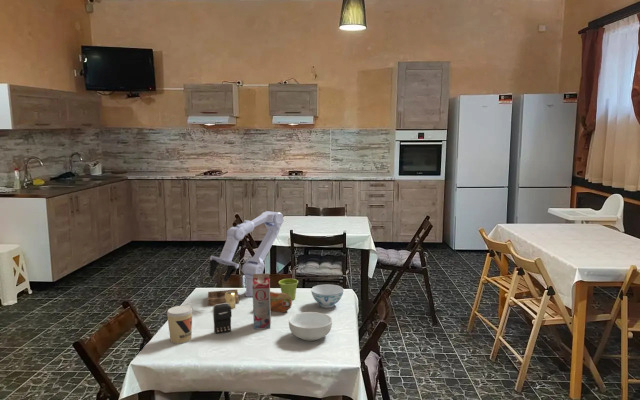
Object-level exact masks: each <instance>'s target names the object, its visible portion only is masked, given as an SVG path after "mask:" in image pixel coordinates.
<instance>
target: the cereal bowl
mask: <svg viewBox="0 0 640 400" xmlns="http://www.w3.org/2000/svg"><path fill="white" fill-rule="evenodd" d="M332 325H333V320H332V317H331V316H330V315H328V314H326V313H322V312H316V311H305V312H304V311H303V312H298V313H296V314H293V315H292V316H290V318H289V319H288V327H289V330H290V332H291V333H292V334H293V336H295V337H297V338H300V339H302V340H303V341H307V342H309V341H311V342H313V341H317V340H319V339H322V338H324V337H325V336H327V335H328V334H329V333H330V332H331V330H332Z"/></svg>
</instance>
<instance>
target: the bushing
mask: <svg viewBox="0 0 640 400" xmlns="http://www.w3.org/2000/svg"><path fill="white" fill-rule="evenodd" d="M225 302H226V303H228V304H229V305H230V306H231V310H234V309H236V304H235V292H233V291H230V292H226V293H225Z"/></svg>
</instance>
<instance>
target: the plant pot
mask: <svg viewBox="0 0 640 400" xmlns="http://www.w3.org/2000/svg"><path fill="white" fill-rule="evenodd" d="M298 283H299V280H298V279H296V278H283V279H281V280H279V281H278V284H279V287H280V291H281V292H280V293H286V294H288V295H289V296H290V298H291V300H292V301H293V300H295V299H296V296H297V295H296V293H297V286H298Z"/></svg>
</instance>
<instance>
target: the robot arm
mask: <svg viewBox="0 0 640 400" xmlns="http://www.w3.org/2000/svg"><path fill="white" fill-rule="evenodd" d="M283 223H284V215H283V213H282V212H280V211H277V212H276V211H269V210H265V211H263V212H262V213H261V214H260V215H258V216H257V217H256V218H254V219H252V220H246V219H245V220H243V222H242V223H239V224H236V226H232V227H230V228H228V229H227V231H226V240H225V243H224V246H223V248H222V251H221V253H220V256H215V255H210V258H209V265H210V268H209V269H210V270H209V275H208V276H209V277H210V278H213V276H214V274H215V271H216V269H217V268H218V266H219V265H220V264H223V265H225V266H227V269H226V272H225V275H224V278H223V281H224V282H228V280H229V279H230V277H231V276H232V275H233V274H234V273H235V272H236V271H237V269H239V267H240V264H239V263H237V262H235V261H232V260H233V258H234V256H235V254H236V250H237V248H238V246H239V244H240V243H239V242H240V241H241V240H244V238H245V236H246V235H248V234H249V233H252V232H253V231H254V230H255V227H258V226H260V225H262V224H264V225H265V228H266V230H267V231H266V234H265V235H264V236H263V239H262V241H261V242H260V244H259V245H258V248H257V249H256V251H255V253H254V255H253V256H252V257H249V258H248V259H247V261H245V262H244V264H243V265H242V268H241V270H242V271H241V272H242V274H244V277H245V291H244V294H245V297H248V298H249V297H253V285H252V284H253V274H264V270H265V267H266V264H265V262H264V261H265V259H266V258H267V255H268V254H269V251H270V250H271V248H272V246H273V244H274V242H275V240H276V238H277V237H278V235H279V233H280V231H281V227H282V225H283Z"/></svg>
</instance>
